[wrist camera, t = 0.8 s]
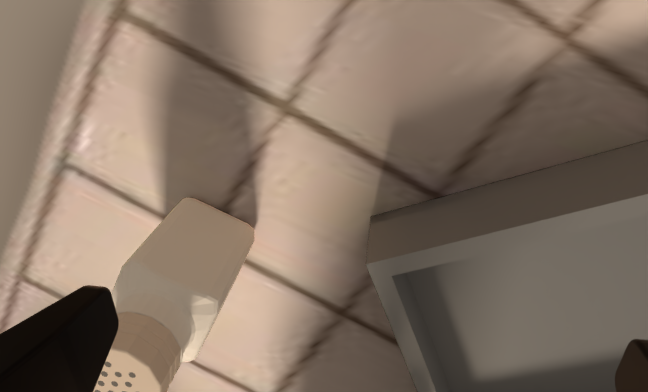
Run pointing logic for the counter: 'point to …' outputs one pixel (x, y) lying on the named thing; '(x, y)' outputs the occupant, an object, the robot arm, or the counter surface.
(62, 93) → the counter surface
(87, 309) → the robot arm
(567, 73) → the counter surface
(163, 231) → the salt shaker
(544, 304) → the bin
